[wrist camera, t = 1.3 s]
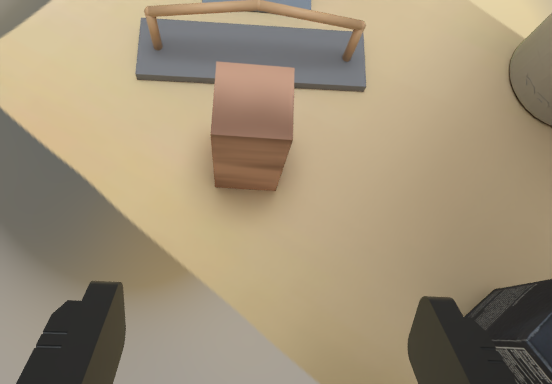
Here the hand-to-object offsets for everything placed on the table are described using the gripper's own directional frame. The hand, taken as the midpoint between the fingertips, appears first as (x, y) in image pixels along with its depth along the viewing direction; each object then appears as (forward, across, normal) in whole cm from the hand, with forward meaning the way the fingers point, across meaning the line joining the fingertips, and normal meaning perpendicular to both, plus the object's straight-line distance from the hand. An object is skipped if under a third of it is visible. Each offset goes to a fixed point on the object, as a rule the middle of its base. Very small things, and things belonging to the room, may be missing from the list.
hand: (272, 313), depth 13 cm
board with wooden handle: (+30, 0, 0) cm, 30 cm away
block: (+24, 0, +6) cm, 24 cm away
